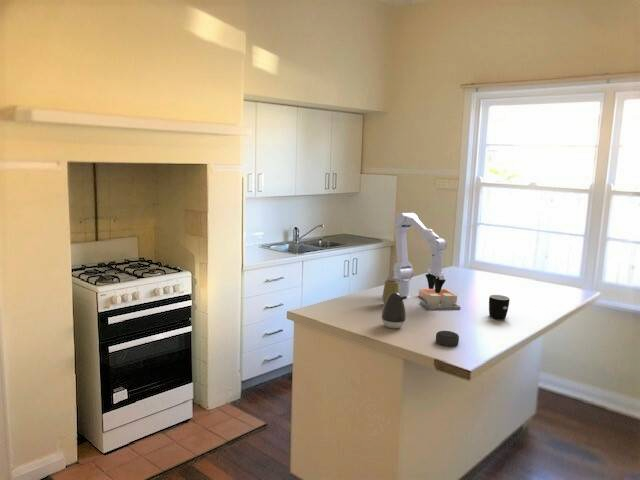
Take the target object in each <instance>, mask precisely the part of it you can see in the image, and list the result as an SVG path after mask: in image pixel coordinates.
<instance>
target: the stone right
mask: <svg viewBox="0 0 640 480" xmlns="http://www.w3.org/2000/svg"><path fill="white" fill-rule="evenodd" d="M453 303H455V302H454V295H452V294H450V293H442V299H441V306H443V307H453Z"/></svg>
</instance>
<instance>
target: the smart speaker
mask: <svg viewBox="0 0 640 480" xmlns="http://www.w3.org/2000/svg"><path fill="white" fill-rule="evenodd" d="M435 342H436V343H437V344H439V345H441V346H443V345H444V347H455V346H456V347H457V345H458V344H459V343H460V336H459V334H458V333H456V332H454V331H450V330H439V331H437V332H436V334H435Z"/></svg>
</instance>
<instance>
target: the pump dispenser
mask: <svg viewBox="0 0 640 480" xmlns="http://www.w3.org/2000/svg"><path fill="white" fill-rule="evenodd" d="M407 299H408V297H407V296H404V297H401V295H400V294H399V293H397V292H393V293H391V294H390V295H389V296H388V298H387V300H386V302H385V304H384V303H383V308H382V312H381V320H382V323H383V324H384V326H385V327H387V328H388V329H395V330H396V329H399V328H401V327H403V325H404V323H405V322H406V319H407V317H406V314H407V313H406V307H405V302H404V300H407Z"/></svg>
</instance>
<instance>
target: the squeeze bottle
mask: <svg viewBox="0 0 640 480" xmlns="http://www.w3.org/2000/svg"><path fill="white" fill-rule="evenodd" d="M386 277H387V279H386V280H385V281H384V285H383V286H384V287H383V292H382V302H383V305H384V304H385V302H386V300H387V298H388V296H389V295H390V294H391V293H393V292H397V293H399V284H398V282H397V277H396V276H395V274H394V268H393V269H391V270H390V272H389V276H386Z"/></svg>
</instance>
